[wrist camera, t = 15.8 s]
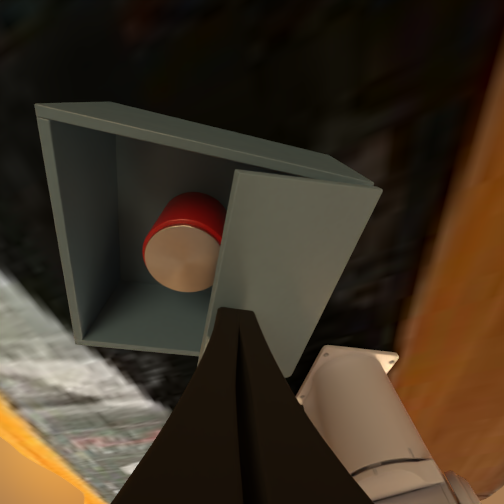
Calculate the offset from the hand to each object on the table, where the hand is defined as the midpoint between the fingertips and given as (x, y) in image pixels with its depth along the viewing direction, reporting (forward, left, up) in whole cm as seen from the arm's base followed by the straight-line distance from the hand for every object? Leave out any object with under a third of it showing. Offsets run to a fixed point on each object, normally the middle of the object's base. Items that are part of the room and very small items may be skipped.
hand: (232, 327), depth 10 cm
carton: (0, +1, -9) cm, 9 cm away
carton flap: (0, -2, -1) cm, 2 cm away
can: (0, +2, -8) cm, 9 cm away
